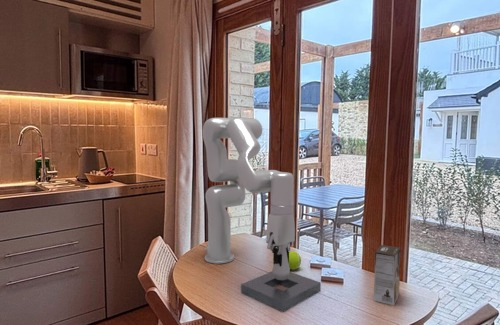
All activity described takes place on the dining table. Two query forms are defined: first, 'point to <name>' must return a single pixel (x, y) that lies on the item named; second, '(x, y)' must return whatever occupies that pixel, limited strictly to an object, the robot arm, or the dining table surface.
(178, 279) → the dining table surface
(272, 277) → the grey square frame
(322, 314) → the dining table surface
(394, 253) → the coffee box
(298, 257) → the tennis ball
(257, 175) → the robot arm
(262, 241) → the dining table surface
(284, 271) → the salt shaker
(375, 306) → the dining table surface
